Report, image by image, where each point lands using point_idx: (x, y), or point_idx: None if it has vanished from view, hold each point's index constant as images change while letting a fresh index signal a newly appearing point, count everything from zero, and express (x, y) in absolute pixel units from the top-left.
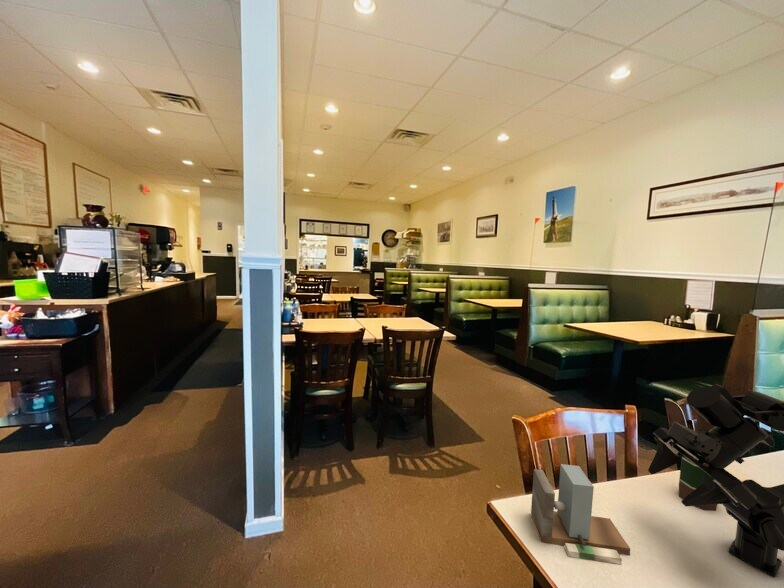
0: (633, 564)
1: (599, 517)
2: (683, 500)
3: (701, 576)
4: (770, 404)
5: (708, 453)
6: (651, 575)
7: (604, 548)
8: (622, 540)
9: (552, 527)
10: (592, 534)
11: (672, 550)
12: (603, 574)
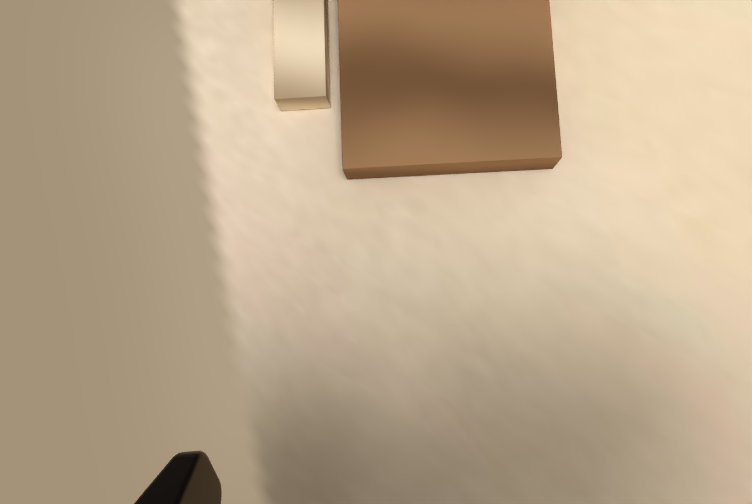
0: (293, 170)
1: (552, 96)
2: (174, 470)
3: (287, 481)
4: None
5: None
6: (246, 225)
7: (323, 40)
8: (393, 153)
9: None
10: (400, 6)
11: (433, 437)
12: (212, 8)
